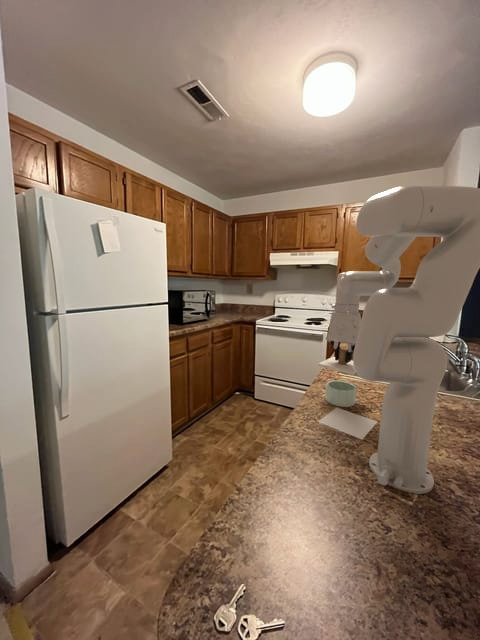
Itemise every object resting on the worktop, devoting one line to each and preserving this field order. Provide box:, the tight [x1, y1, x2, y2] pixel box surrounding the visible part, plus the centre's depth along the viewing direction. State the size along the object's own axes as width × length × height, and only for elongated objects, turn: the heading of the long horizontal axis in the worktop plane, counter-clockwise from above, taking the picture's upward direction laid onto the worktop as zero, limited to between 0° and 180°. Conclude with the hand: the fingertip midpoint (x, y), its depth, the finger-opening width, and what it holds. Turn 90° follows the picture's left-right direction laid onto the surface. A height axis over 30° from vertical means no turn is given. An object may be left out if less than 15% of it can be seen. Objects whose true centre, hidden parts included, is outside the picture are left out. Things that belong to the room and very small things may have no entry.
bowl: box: [324, 379, 358, 408], centre depth 96 cm, size 10×10×6 cm
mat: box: [317, 406, 378, 440], centre depth 82 cm, size 13×13×1 cm
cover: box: [318, 348, 357, 376], centre depth 94 cm, size 12×12×6 cm
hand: (342, 360), depth 94 cm, fingers closed on cover, 3 cm apart
